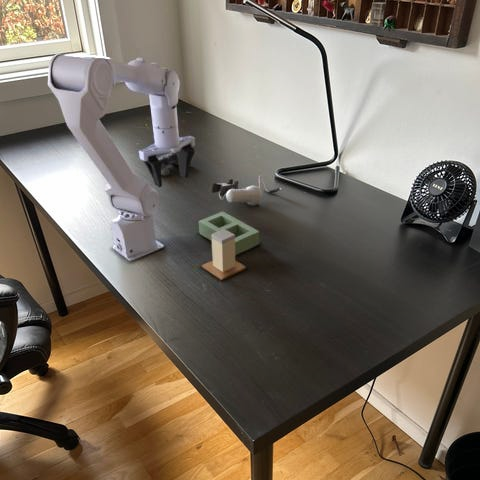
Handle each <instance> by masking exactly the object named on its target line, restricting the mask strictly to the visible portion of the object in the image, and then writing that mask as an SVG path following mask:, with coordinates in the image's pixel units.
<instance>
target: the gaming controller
mask: <svg viewBox="0 0 480 480" xmlns="http://www.w3.org/2000/svg"><path fill="white" fill-rule="evenodd" d="M157 158H158V160H159V161H161V162H162V165H161V176H164V177H165V176H166V177H167V176H169V175H170V170H169V167H168V166H170V165H172V164H175V163H176V164H178V165H179V163H178V158H177V154H176V152H168V153H165V154H163V155H160V156H159V157H157Z"/></svg>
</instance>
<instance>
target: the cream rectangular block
mask: <svg viewBox="0 0 480 480" xmlns="http://www.w3.org/2000/svg"><path fill="white" fill-rule="evenodd" d="M211 238H212V241H211V255H212V260H213V266H214V267H216V268H217V269H219V270H221V271H222V272H224V271H226V270H229V269H231V268H233V267H235V260H236V255H235V235H234V234H232V233H231V232H229V231H227V230H225V229H222V230H220V231H218V232H215V233H213V234H211Z"/></svg>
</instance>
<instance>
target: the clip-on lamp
mask: <svg viewBox="0 0 480 480" xmlns="http://www.w3.org/2000/svg"><path fill="white" fill-rule="evenodd" d="M261 181H262V185H263V187H264V190H265V191H266V192H268V193H273V194H274V193H277V192H279V191H280V192H281V191H283V188H281V187H275V188H272V189H269V190H268V188H267V186H266V184H265V181H264V178H263V176H262V175H261V174H260V175H258V185H250V186H244V187H243V188H239V180H235V181H234V179H233V178H229V179H228V181H223V182H212V183H211V187H210V191H211V193H212V194H218V197H219V199H220V200H221V201H224V200H225V199H224V198H226V200H227V202H229V203H230V204H232V203H245V204H247V205H250V206H255V205H256V206H257V205H258V204H259V203H260V202H261V200H262V198H263V193H262V191H261ZM222 196H223V197H222Z"/></svg>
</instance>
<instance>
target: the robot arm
mask: <svg viewBox="0 0 480 480" xmlns="http://www.w3.org/2000/svg"><path fill="white" fill-rule="evenodd" d="M47 71H48V72H47V73H48V74H47V75H48V76H47V86H48V87H49V89H50V91H51V92H52V93H53V95H54V96H55V98H56V99H57V100H58V103H59V106H60V109H61V113H62V115H63V119H64V121H65V124H66V126H67V128H68V129H69V130H70V132H71V133H72V135H73V136H74V137H75V139H76V140H77V142H78V143H79V144H80V146H81V147H82V149H83V150H84V151H85V153H86V154H87V155H88V157H89V158H90V160H91V161H92V162H93V164H94V165H95V166H96V168H97V170H98V171H99V172H100V174H101V175H102V177H103V178H104V179H105V181H106V182H107V183H106V185H105V190H104V192H105V194H106V195H107V196H108V200H109V204H110V206H111V207H112V208H113V209H115V210H116V214H117V215H118V216H117V217H115V218H114V219H112V220H111V221H110V223H109V224H110V225H109V226H110V232H111V233H110V234H111V237H112V242H113V246H112V248H113V250H114V251H116V252H117V253H119V254H120V255H121V256H123V257H124V258H125V259H126V260H127V261H129V262H132V261H135V260H138V259H139V258H142V257H144V256H147V255H149V254H151V253H154V252H156V251H159V250H160V249H164V247H165V245H164V244H163V243H162V242H160V241H158V240H157V238H156V231H155V223H154V214H155V213H156V212H157V210H158V207H159V202H160V200H159V199H160V198H159V194H158V191H157V190H156V188H154V187H151V186H150V184H149V183H148V181H146V180H144V179H142V178H141V177H139V176H137V175H136V174H135V173H134V172H133V170H132V169H131V167H130V166H129V164H128V162H127V161H126V159H125V158H124V156H123V154H122V153H121V151H120V150H119V148H118V146H117V145H116V143H115V142H114V141H113V139H112V137H111V136H110V133H108V130H107V129H106V127H105V126H104V124H103V123H102V122H101V120H100V119H102V118H103V117H104V116H105V115H106V111H107V108H108V104H109V100H110V96H111V93H112V89H113V87H115V86H116V81H117V82H123V83H125V86H126V87H127V88H128V89H129V90H131V91H132V92H137V93H142V94H145V95H146V96H148V97H149V106H150V113H151V122H152V130H153V138H154V143H152V144H150V145H148V146H146V147H145V148H142V149H140V150H138V155H139V159H140V160H141V161H142V162H143V164H144V165H145V166H146V168H147V169H148V171H149V173H150V175H151V178H152V180H153V184H154V185H155V186H156V187H158V188H161V187H163V179H162V174H161V165H162V162H161V161H159V160H158V158H159V157H160V156H163V155H166V154H169V153H170V152H176V154H177V158H178V163H179V164H178V163H177V164H178V170H179V176H180V177H182V178H184V179H187V178H188V174H189V170H190V164H191V162H192V159H193V157H194V155H195V153H196V152H195V150H196V149H195V148H194V147H195V146H196V139H195V137H194V136H193V135H187V136H180V133H179V124H178V123H179V121H178V109H177V105H178V103H179V102H178V101H179V91H180V84H181V83H180V82H181V80H180V79H179V76H178V74H177V72H176V71H175V70H174V69H173V68H169V67H161V66H160V64H159V63H157V62H151V63H149V62H147V59H146V58H143V57H136V59H134V60H130V61H129V62H128V63H125V62H123V61H119V60H116V59H114V58H111V57H107V56H98V55H87V54H86V55H85V54H69V55H67V54H65V53H56V54H54V55H53V56H52V57H51V59H50V61H49V64H48V70H47ZM158 156H159V157H158Z"/></svg>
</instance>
